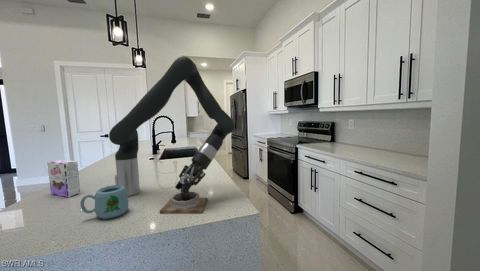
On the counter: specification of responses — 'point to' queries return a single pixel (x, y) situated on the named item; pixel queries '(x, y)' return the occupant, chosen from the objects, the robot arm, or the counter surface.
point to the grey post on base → (182, 182)
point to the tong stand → (184, 204)
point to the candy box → (64, 178)
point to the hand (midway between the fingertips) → (180, 190)
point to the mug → (108, 202)
